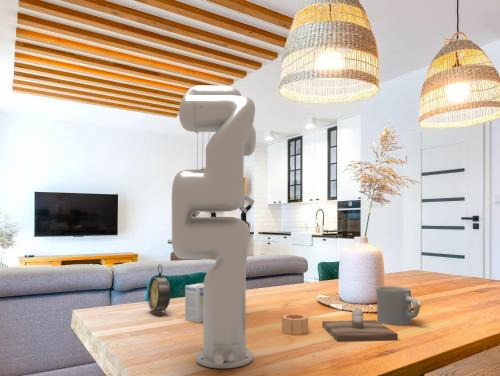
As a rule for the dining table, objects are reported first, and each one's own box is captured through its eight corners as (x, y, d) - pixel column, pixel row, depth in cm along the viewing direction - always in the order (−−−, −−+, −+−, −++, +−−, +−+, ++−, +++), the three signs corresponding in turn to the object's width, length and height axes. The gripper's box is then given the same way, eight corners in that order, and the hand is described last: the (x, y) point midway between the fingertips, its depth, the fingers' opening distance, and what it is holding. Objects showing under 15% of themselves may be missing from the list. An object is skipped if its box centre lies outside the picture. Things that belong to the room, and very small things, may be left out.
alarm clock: (146, 311, 141) (147, 263, 142) (161, 309, 144) (162, 262, 145) (157, 317, 132) (157, 266, 133) (173, 315, 134) (173, 265, 136)
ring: (310, 334, 112) (309, 319, 112) (284, 335, 111) (284, 319, 112) (304, 327, 119) (304, 313, 119) (280, 328, 118) (280, 314, 119)
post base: (397, 339, 106) (397, 314, 107) (337, 341, 105) (336, 315, 106) (375, 325, 121) (375, 303, 122) (322, 326, 120) (322, 303, 121)
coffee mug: (370, 319, 129) (370, 287, 130) (396, 316, 132) (395, 285, 133) (400, 329, 116) (399, 293, 117) (427, 326, 120) (426, 291, 121)
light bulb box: (208, 313, 137) (208, 281, 138) (223, 316, 133) (223, 283, 134) (183, 319, 129) (184, 285, 130) (198, 323, 125) (199, 287, 126)
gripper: (204, 172, 133) (204, 225, 131) (256, 173, 137) (256, 225, 135) (201, 174, 140) (201, 225, 138) (251, 175, 144) (251, 224, 142)
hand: (228, 225), depth 137 cm, fingers open, 9 cm apart
